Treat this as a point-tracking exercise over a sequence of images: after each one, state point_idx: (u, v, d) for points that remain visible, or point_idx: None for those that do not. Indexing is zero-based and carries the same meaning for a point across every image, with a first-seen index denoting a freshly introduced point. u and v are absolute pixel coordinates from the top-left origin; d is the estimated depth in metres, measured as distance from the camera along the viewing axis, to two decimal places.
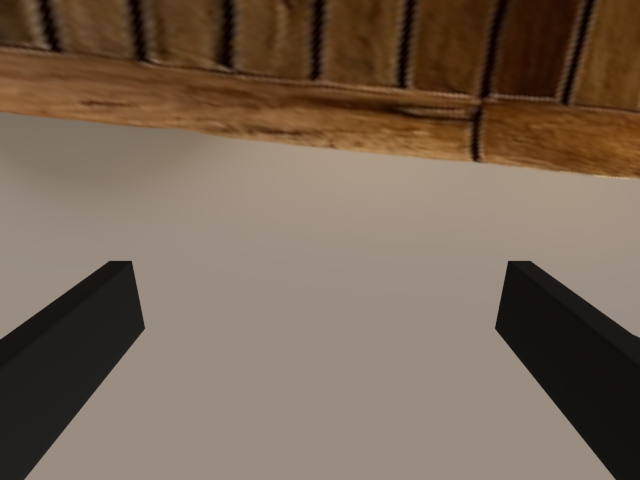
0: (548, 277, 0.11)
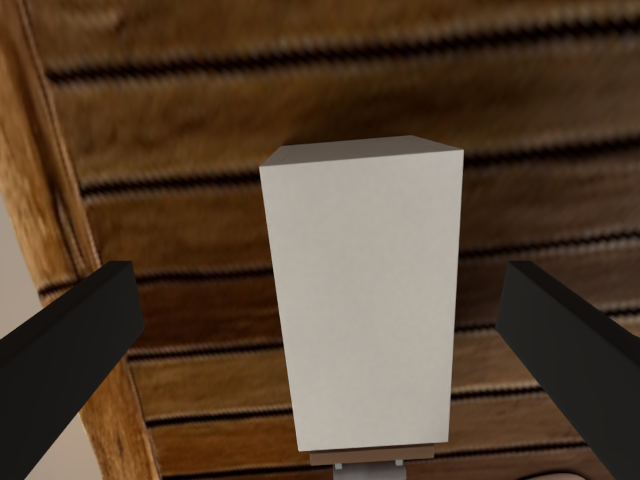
0: (548, 277, 0.11)
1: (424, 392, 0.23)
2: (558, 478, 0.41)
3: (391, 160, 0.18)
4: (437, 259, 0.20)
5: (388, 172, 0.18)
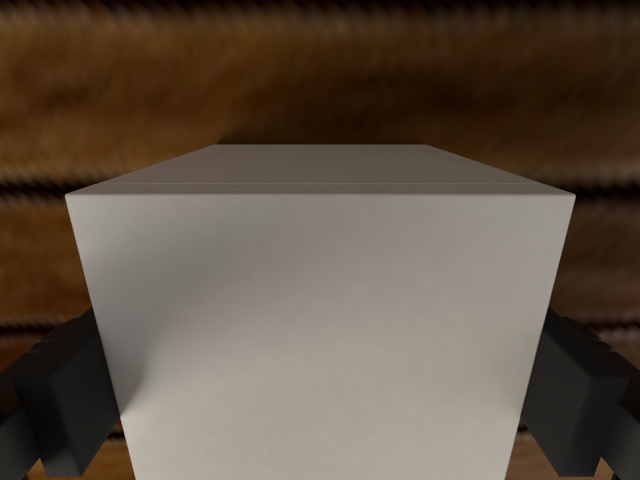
0: None
1: None
2: None
3: (395, 206, 0.07)
4: (475, 419, 0.09)
5: (385, 234, 0.08)
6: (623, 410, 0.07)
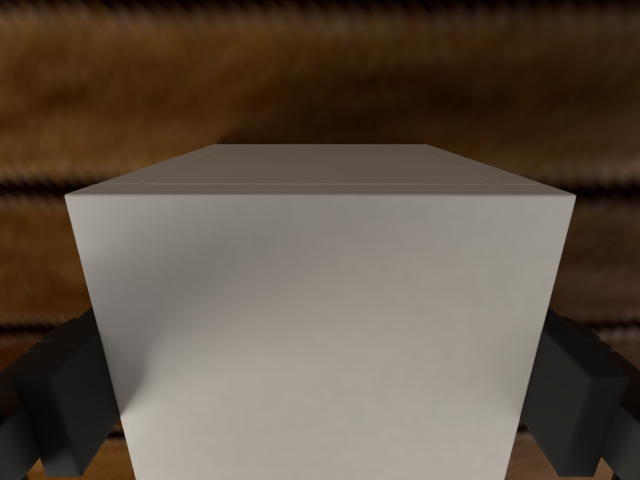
0: None
1: None
2: None
3: (395, 207, 0.07)
4: (475, 419, 0.09)
5: (385, 234, 0.08)
6: (624, 411, 0.07)
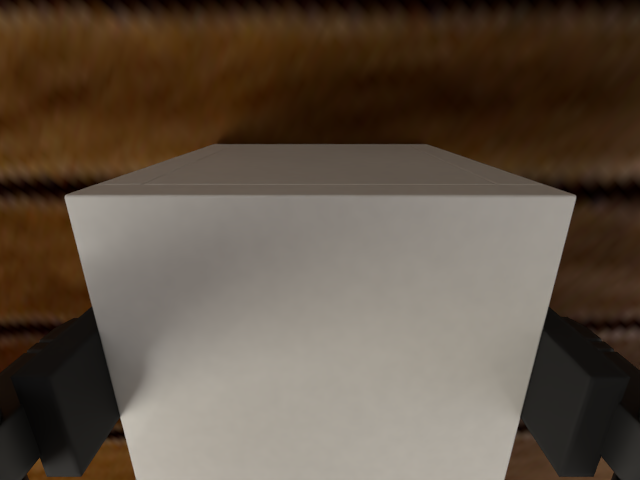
0: None
1: None
2: None
3: (395, 207, 0.07)
4: (475, 419, 0.09)
5: (385, 235, 0.08)
6: (624, 411, 0.07)
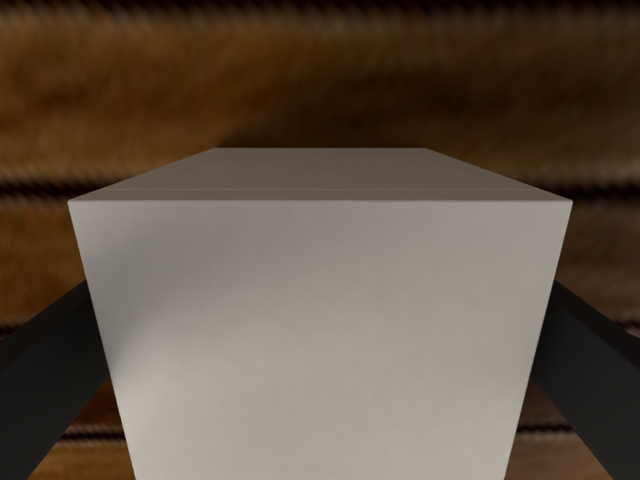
0: None
1: None
2: None
3: (395, 212, 0.07)
4: (474, 422, 0.09)
5: (385, 239, 0.08)
6: None
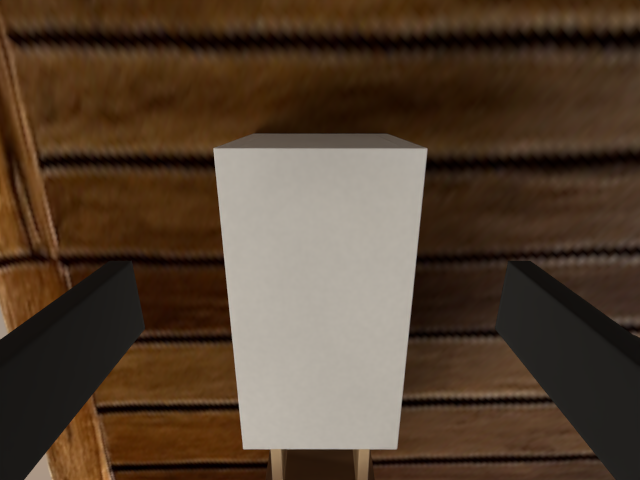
0: (548, 277, 0.11)
1: (375, 396, 0.23)
2: None
3: (352, 153, 0.18)
4: (394, 260, 0.20)
5: (348, 165, 0.18)
6: None
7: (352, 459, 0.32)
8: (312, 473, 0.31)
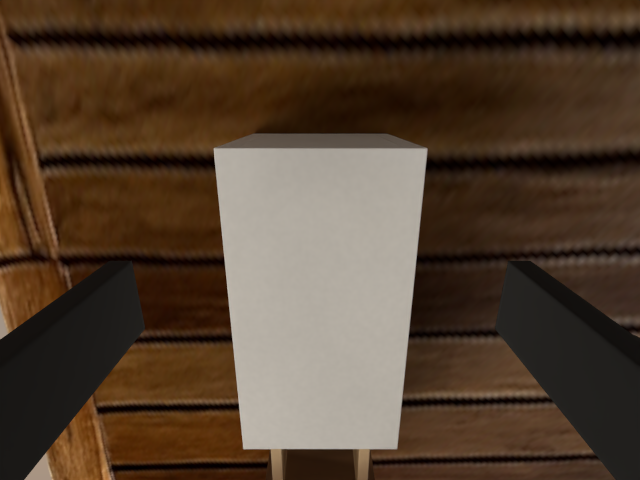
0: (548, 277, 0.11)
1: (376, 396, 0.23)
2: None
3: (352, 153, 0.18)
4: (395, 260, 0.20)
5: (348, 165, 0.18)
6: None
7: (352, 459, 0.32)
8: (312, 473, 0.31)
